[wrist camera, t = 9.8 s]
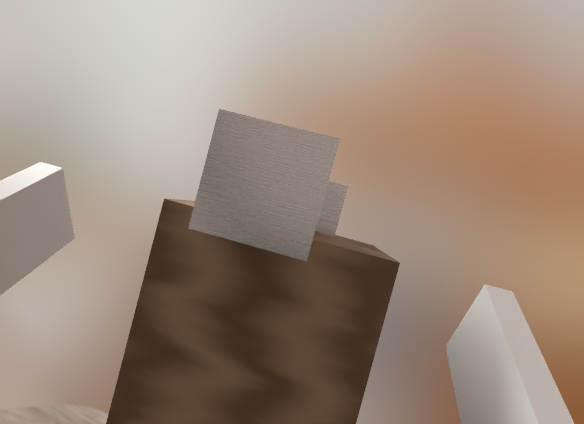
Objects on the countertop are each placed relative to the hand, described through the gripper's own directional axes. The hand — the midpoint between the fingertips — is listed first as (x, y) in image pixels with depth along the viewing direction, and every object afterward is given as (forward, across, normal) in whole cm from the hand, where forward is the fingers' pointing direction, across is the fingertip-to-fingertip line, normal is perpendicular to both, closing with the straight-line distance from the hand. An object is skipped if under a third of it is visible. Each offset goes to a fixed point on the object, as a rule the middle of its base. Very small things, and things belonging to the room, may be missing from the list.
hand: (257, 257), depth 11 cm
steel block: (+9, 0, -5) cm, 10 cm away
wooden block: (-1, 0, -31) cm, 31 cm away
